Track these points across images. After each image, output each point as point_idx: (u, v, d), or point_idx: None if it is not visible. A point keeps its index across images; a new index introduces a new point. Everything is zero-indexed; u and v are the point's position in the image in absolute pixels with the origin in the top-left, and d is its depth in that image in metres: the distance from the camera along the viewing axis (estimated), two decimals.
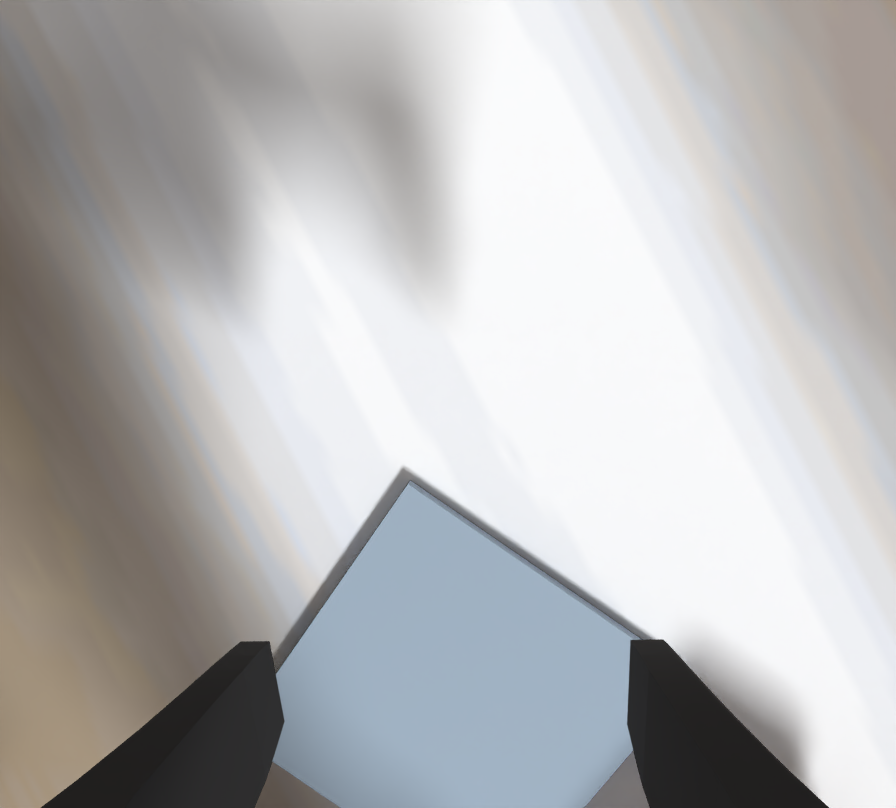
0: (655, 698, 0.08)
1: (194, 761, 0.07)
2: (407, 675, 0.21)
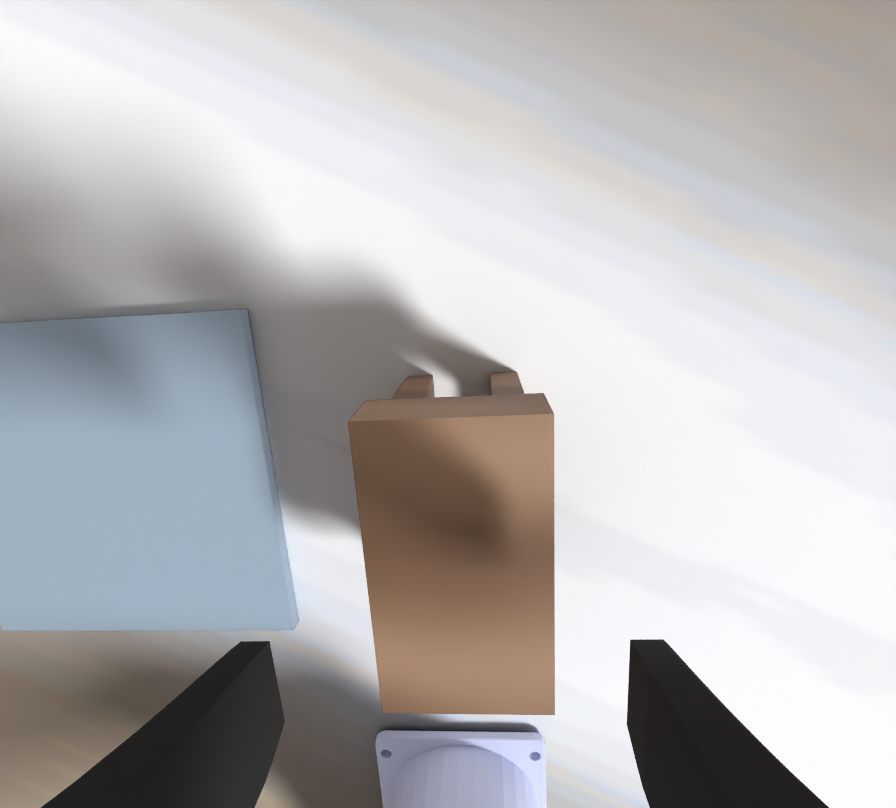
0: (655, 698, 0.08)
1: (194, 761, 0.07)
2: (53, 489, 0.20)
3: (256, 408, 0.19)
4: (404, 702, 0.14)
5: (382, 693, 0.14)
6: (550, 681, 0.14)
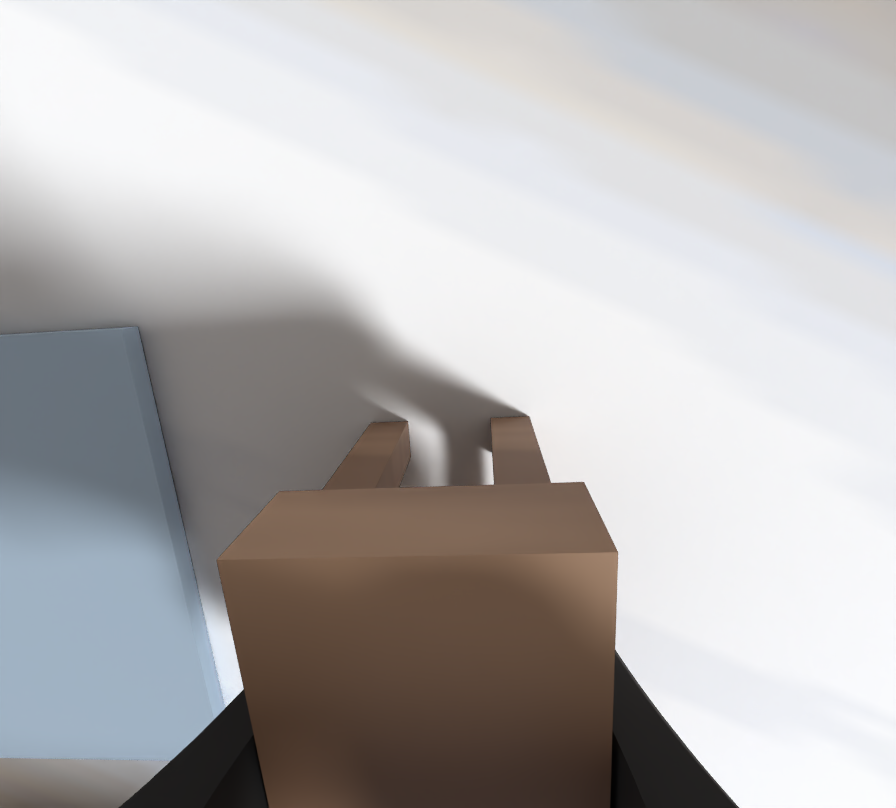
0: None
1: (259, 762, 0.07)
2: None
3: (154, 468, 0.13)
4: None
5: None
6: None
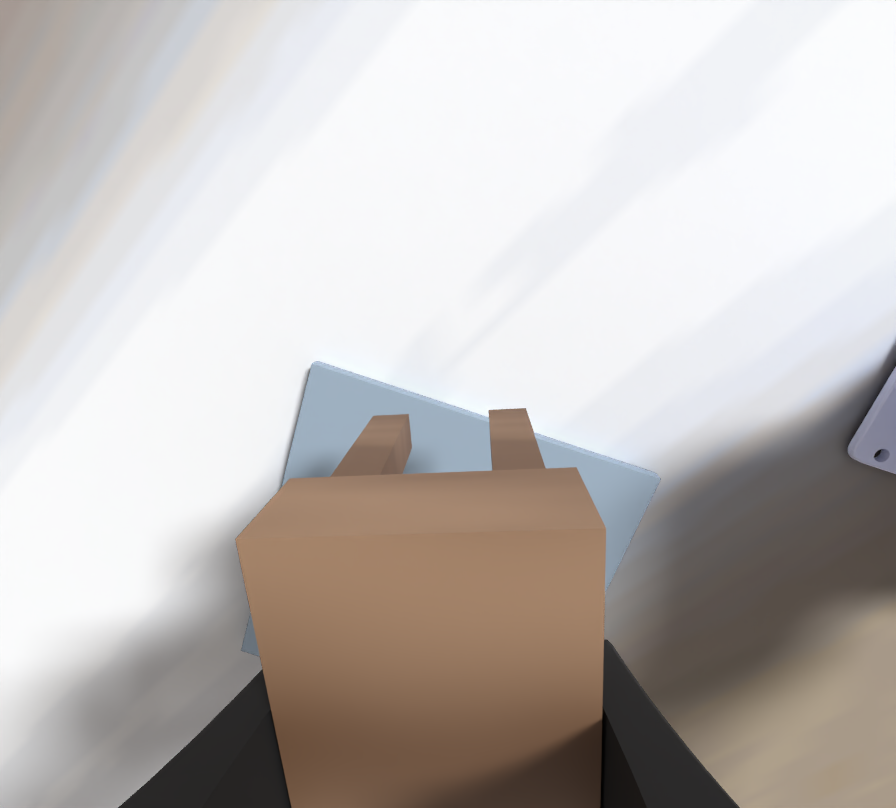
0: None
1: (258, 762, 0.07)
2: None
3: (406, 395, 0.18)
4: None
5: None
6: None
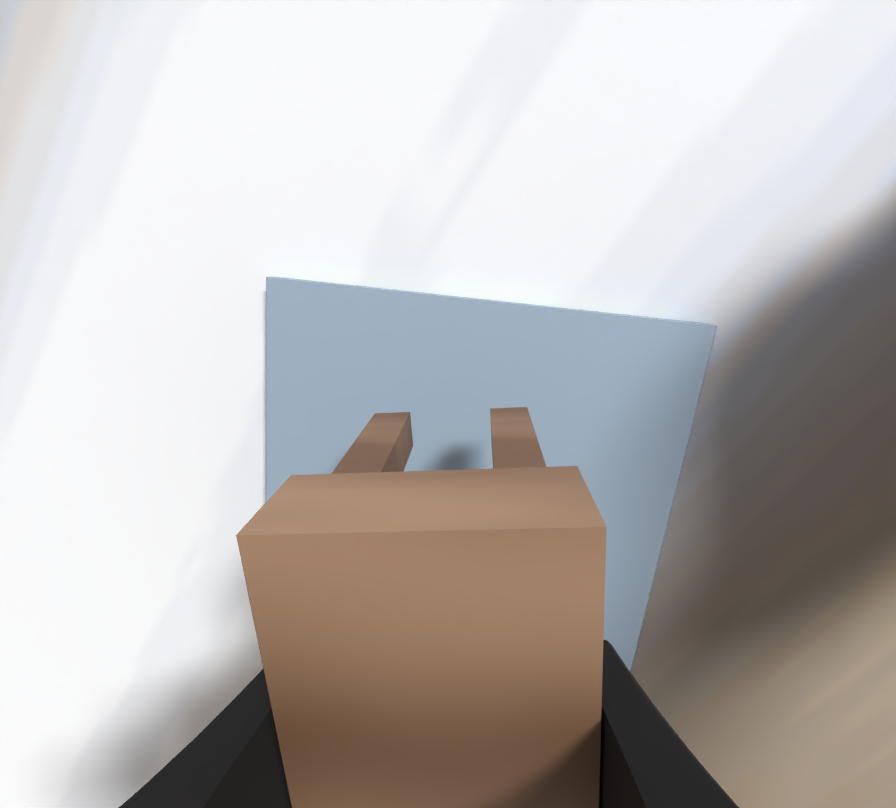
0: None
1: (259, 762, 0.07)
2: None
3: (384, 290, 0.15)
4: None
5: None
6: None
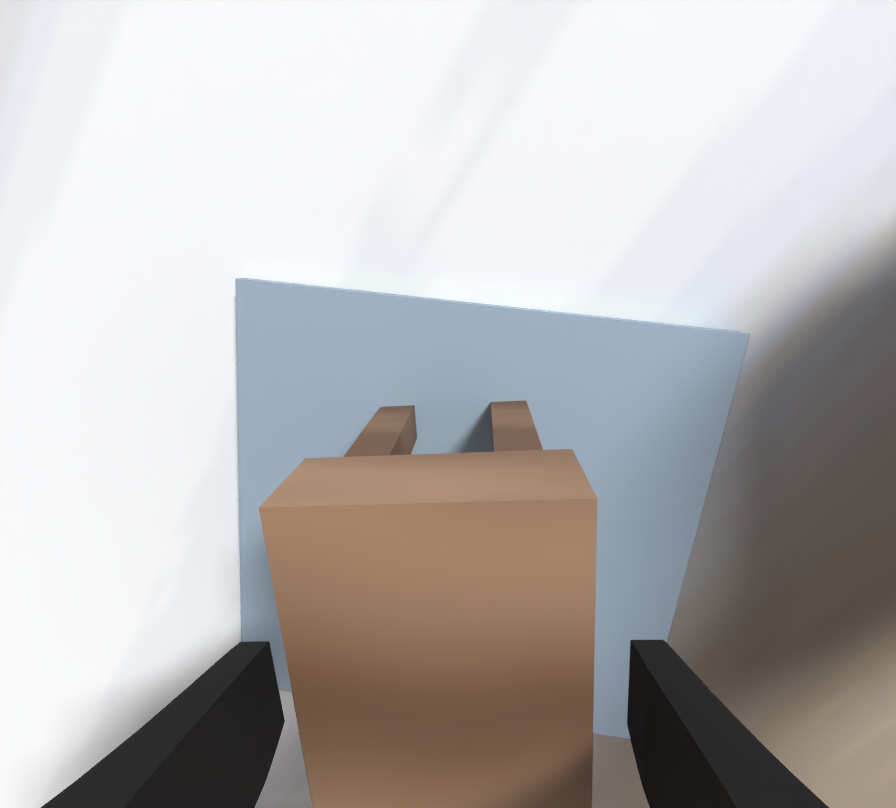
0: (655, 698, 0.08)
1: (194, 761, 0.07)
2: None
3: (370, 293, 0.13)
4: None
5: None
6: None
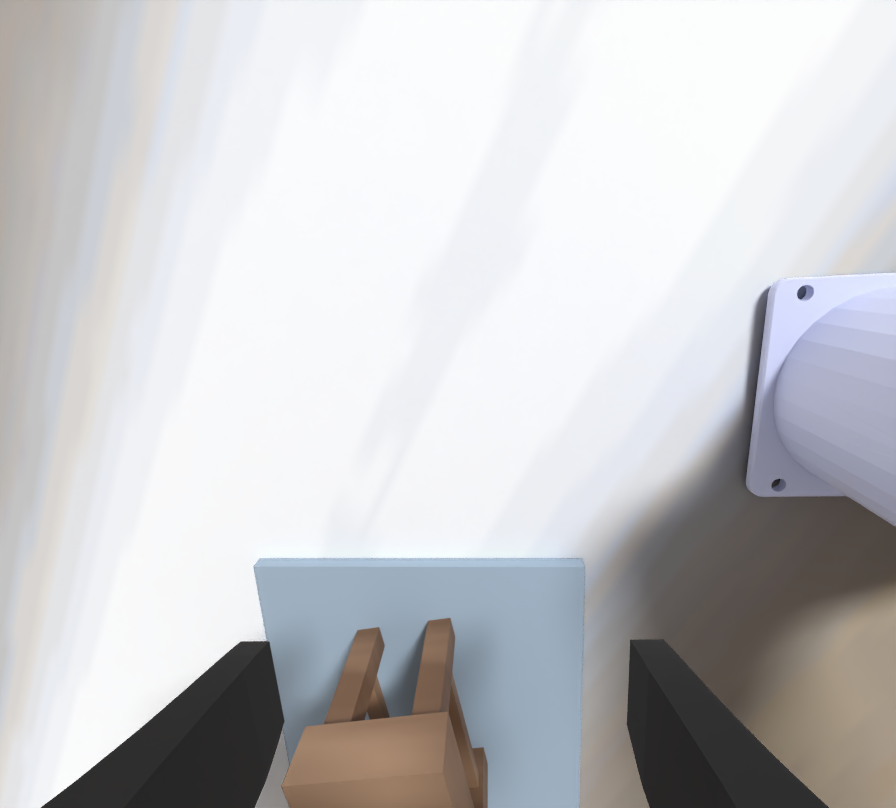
0: (655, 698, 0.08)
1: (194, 761, 0.07)
2: None
3: (338, 566, 0.21)
4: None
5: None
6: None
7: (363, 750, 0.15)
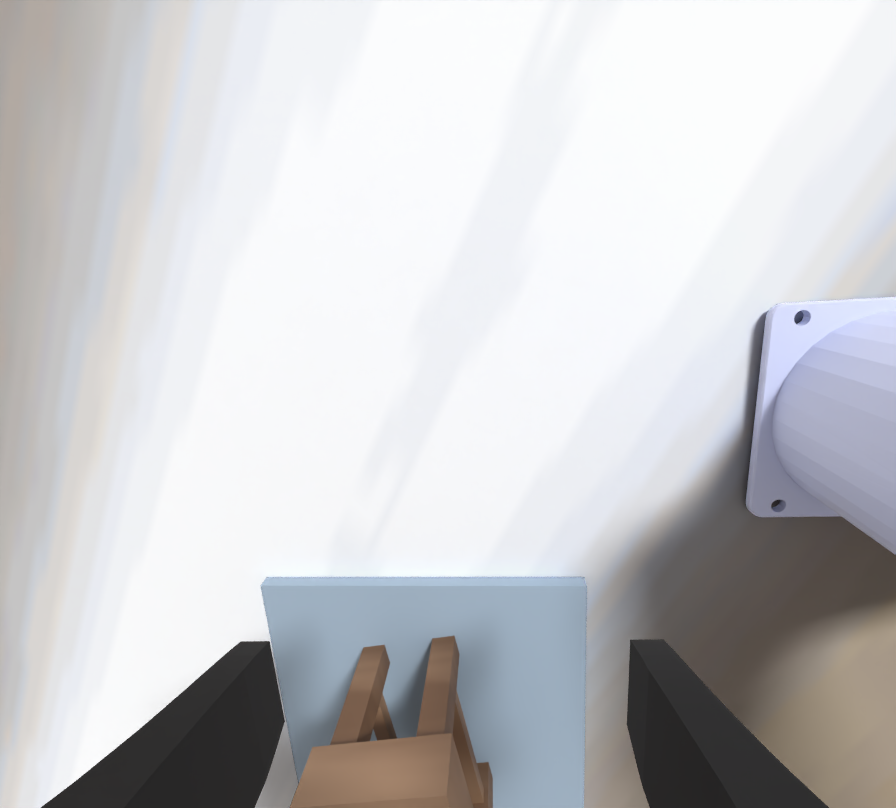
0: (655, 698, 0.08)
1: (194, 761, 0.07)
2: None
3: (343, 585, 0.21)
4: None
5: None
6: None
7: (369, 772, 0.16)
